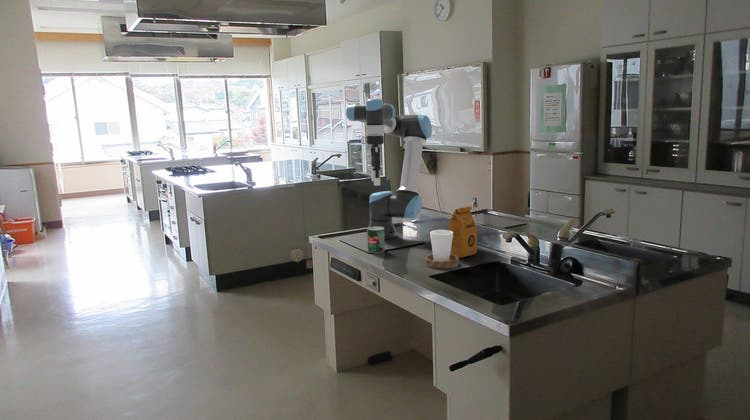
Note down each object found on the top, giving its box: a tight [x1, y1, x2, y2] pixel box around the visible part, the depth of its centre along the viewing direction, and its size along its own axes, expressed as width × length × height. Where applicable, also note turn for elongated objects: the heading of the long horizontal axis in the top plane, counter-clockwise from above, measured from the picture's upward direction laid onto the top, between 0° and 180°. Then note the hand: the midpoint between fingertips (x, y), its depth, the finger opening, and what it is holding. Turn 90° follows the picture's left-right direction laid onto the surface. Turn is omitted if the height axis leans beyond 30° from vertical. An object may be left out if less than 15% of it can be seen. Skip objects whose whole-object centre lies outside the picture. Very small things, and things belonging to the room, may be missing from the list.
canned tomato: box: [366, 226, 385, 254], centre depth 250 cm, size 8×8×11 cm
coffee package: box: [448, 205, 478, 258], centre depth 239 cm, size 10×12×22 cm
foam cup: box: [429, 229, 453, 262], centre depth 227 cm, size 10×9×13 cm
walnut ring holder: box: [424, 253, 460, 270], centre depth 228 cm, size 14×14×3 cm
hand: (375, 183), depth 239 cm, fingers open, 13 cm apart
